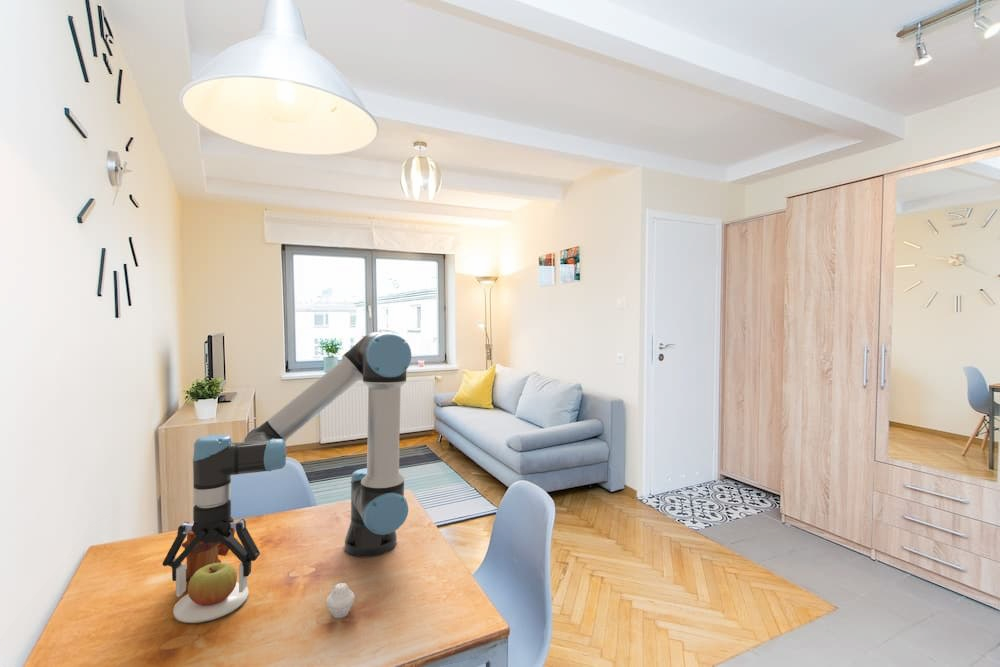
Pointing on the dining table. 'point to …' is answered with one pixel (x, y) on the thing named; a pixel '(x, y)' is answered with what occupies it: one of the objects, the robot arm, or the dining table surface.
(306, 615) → the dining table surface
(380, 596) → the dining table surface
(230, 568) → the apple
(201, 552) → the mug
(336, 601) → the white rounded piece
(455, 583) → the dining table surface
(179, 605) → the plate
